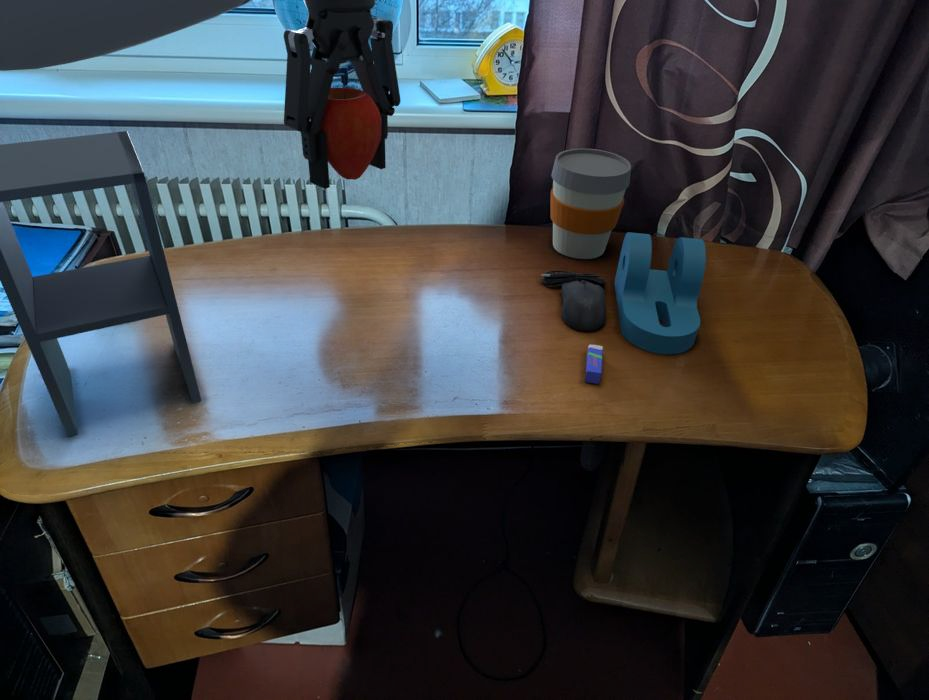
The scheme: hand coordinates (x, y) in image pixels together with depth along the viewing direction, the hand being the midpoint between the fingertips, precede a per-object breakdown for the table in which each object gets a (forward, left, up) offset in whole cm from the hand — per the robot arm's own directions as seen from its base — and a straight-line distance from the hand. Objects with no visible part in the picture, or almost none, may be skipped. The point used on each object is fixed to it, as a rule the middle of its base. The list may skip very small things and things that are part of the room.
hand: (349, 174), depth 82 cm
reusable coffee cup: (+40, -12, -21) cm, 47 cm away
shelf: (-30, +7, -20) cm, 37 cm away
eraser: (+12, -32, -21) cm, 40 cm away
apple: (0, 0, -1) cm, 1 cm away
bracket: (+29, -32, -21) cm, 48 cm away
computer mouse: (+24, -22, -21) cm, 39 cm away
